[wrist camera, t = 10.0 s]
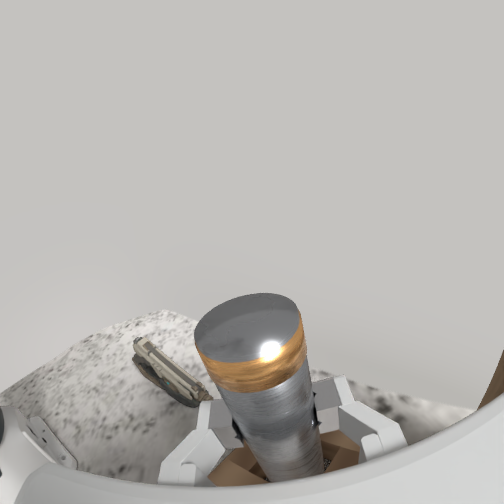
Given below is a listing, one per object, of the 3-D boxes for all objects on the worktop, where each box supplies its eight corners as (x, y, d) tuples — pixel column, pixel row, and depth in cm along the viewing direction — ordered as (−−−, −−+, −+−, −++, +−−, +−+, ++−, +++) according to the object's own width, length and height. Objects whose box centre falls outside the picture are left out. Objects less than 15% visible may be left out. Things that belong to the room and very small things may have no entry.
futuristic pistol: (205, 429, 33) (204, 404, 27) (133, 367, 38) (119, 329, 33) (216, 418, 34) (219, 389, 29) (144, 359, 40) (133, 319, 34)
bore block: (221, 490, 19) (206, 476, 18) (285, 420, 27) (278, 399, 25) (318, 540, 12) (315, 535, 11) (376, 449, 20) (380, 430, 18)
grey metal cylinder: (258, 487, 11) (172, 351, 8) (277, 443, 14) (221, 293, 10) (316, 496, 10) (282, 363, 6) (330, 449, 13) (309, 290, 9)
